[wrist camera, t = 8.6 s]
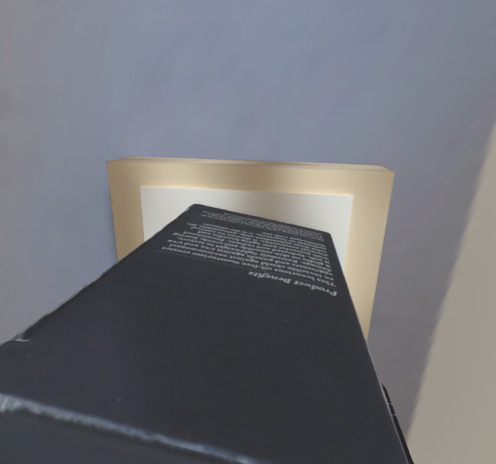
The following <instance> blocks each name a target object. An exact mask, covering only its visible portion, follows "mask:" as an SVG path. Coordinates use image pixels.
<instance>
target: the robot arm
mask: <svg viewBox="0 0 496 464" xmlns="http://www.w3.org/2000/svg"><path fill="white" fill-rule="evenodd" d="M381 385H382V384H381ZM382 388H383V391H384V393H385V396H386V399H387V402H388V405H389V408H390V411H391V414H392V417H393V420H394V423H395V426H396V429H397V432H398V435H399V438H400V440H401V443H402V446H403V449H404V452H405V454H406V457H407V460H408V463H409V464H414V463H413V461H412V458H411V456H410V453H409V450H408V447H407V445H406V442H405V439H404V436H403V434H402V431H401V428H400V426H399V423H398V420H397V417H396V416H395V412H394V409H393V407H392V405H391V401H390V398H389V396H388V393H387V390H386V388H385V387H384V386H383V385H382Z"/></svg>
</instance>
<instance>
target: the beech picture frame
mask: <svg viewBox="0 0 496 464" xmlns="http://www.w3.org/2000/svg"><path fill="white" fill-rule="evenodd" d="M107 168H108V177H109V185H110V194H111V203H112V211H113V220H114V229H115V237H116V246H117V255H118V261H119V260H120V259H122V258H123V257H125V256H126V255H127V254H129V253H130V252H132V251H133V250H134V249H135V248H137V247H138V246H139V245H141V244H142V243H144V242H145V241H146V240H148V239H149V238H150V237H152V236H153V235H154V234H155V233H156V232H158V231H160V230H162V229H163V228H164V226H166V225H167V224H168V223H170V222H171V221H173V220H174V219H176V217H178V216H179V215H180V214H181V213H183V212H184V211H185V210H186V209H187V208H188V207H189V206H191V205H193V204H202V205H206V206H211V207H215V208H220V209H225V210H229V211H233V212H238V213H243V214H248V215H252V216H257V217H262V218H266V219H271V220H276V221H280V222H285V223H289V224H294V225H299V226H303V227H307V228H312V229H316V230H320V231H324V232H328V233H330V234H331V237H332V240H333V242H334V246H335V248H336V251H337V254H338V258H339V260H340V264H341V267H342V270H343V273H344V276H345V279H346V282H347V285H348V288H349V291H350V295H351V297H352V300H353V303H354V306H355V309H356V312H357V315H358V318H359V321H360V324H361V327H362V330H363V332H364V335H365V338H366V341H367V337H368V331H369V325H370V319H371V313H372V307H373V301H374V295H375V289H376V283H377V277H378V270H379V264H380V258H381V252H382V246H383V240H384V234H385V228H386V222H387V216H388V209H389V203H390V197H391V191H392V185H393V179H394V173H395V172H393V171H391V170H389V169H386V168H384V167H381V166H379V165H364V164H334V163H305V162H276V161H247V160H217V159H188V158H159V157H129V158H123V159H118V160H113V161H108V162H107Z"/></svg>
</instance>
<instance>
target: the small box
mask: <svg viewBox="0 0 496 464" xmlns="http://www.w3.org/2000/svg"><path fill="white" fill-rule="evenodd" d="M0 464H409V463H408V460H407V457H406V454H405V452H404V449H403V446H402V443H401V440H400V438H399V435H398V432H397V429H396V426H395V423H394V420H393V417H392V414H391V411H390V408H389V405H388V402H387V399H386V396H385V393H384V391H383V388H382V385H381V382H380V379H379V376H378V373H377V371H376V368H375V365H374V362H373V359H372V356H371V353H370V350H369V347H368V344H367V341H366V338H365V335H364V332H363V330H362V327H361V324H360V321H359V318H358V315H357V312H356V309H355V306H354V303H353V300H352V297H351V295H350V291H349V288H348V285H347V282H346V279H345V276H344V273H343V270H342V267H341V264H340V260H339V258H338V254H337V251H336V248H335V246H334V242H333V240H332V237H331V234H330V233H328V232H324V231H320V230H316V229H312V228H307V227H303V226H299V225H294V224H289V223H285V222H280V221H276V220H271V219H266V218H262V217H257V216H252V215H248V214H243V213H238V212H233V211H229V210H225V209H220V208H215V207H211V206H206V205H202V204H193V205H191V206H189V207H188V208H187V209H186V210H185V211H184V212H183V213H181V214H180V215H179V216H178V217H176V219H174V220H173V221H171V222H170V223H168V224H167V225H166V226H164V228H163V229H162V230H160V231H158V232H156V233H155V234H154V235H153V236H152V237H150V238H149V239H148V240H146V241H145V242H144V243H142V244H141V245H139V246H138V247H137V248H135V249H134V250H133V251H132V252H130V253H129V254H127V255H126V256H125V257H123V258H122V259H120V260H119V261H117V262H116V263H115V264H114V265H113V266H112V267H110V268H109V269H108V270H107V271H105V272H103V273H102V274H101V275H100V276H99V277H98V278H97V279H96V280H95V281H93V282H91V283H89V284H87V285H85V286H84V287H83V289H82V290H80V291H79V292H77V293H76V294H74V295H73V296H71V297H70V298H69V299H67V300H66V301H64V302H63V303H62V304H60V305H59V306H58V307H57V308H55V309H54V310H53V311H50V312H48V313H46V314H45V315H44V316H42V317H41V318H40V319H38V320H37V321H35V322H34V323H32V324H31V325H29V326H28V327H27V328H25V329H24V330H22V331H21V332H20V333H18V334H17V335H16V336H15V337H14V338H12V339H11V340H9V341H7V342H5V343H2V344H0Z"/></svg>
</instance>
